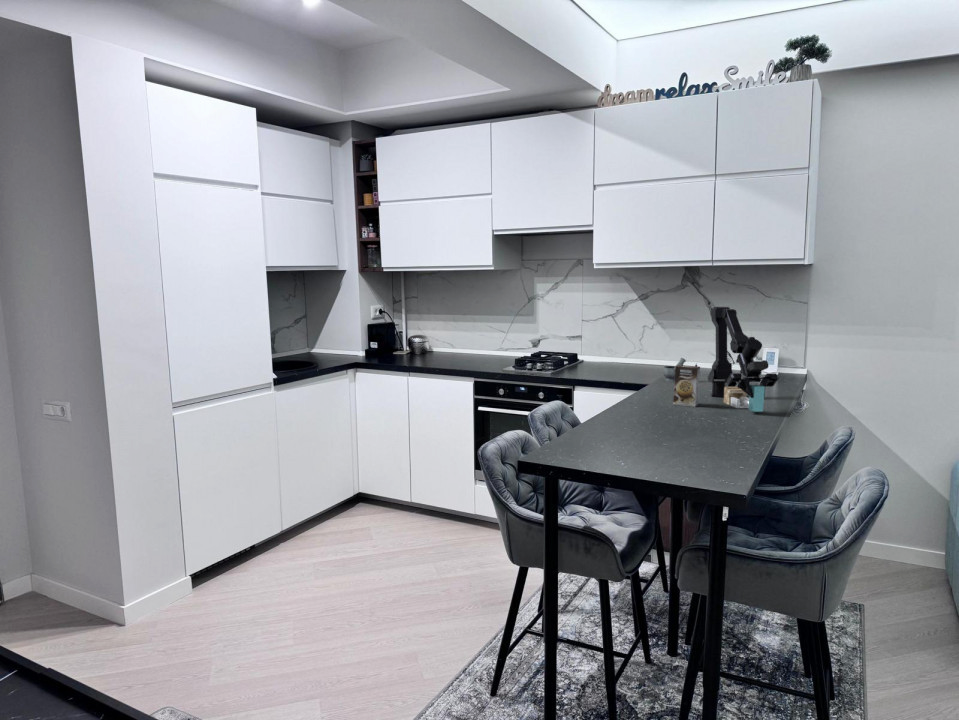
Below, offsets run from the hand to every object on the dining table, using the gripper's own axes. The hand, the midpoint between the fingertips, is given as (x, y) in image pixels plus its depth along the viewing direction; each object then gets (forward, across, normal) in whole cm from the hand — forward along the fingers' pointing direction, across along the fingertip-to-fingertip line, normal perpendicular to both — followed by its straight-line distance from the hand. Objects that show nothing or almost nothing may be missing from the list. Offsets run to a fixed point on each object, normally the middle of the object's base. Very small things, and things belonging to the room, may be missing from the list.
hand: (758, 397), depth 258 cm
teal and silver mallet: (-1, 0, +8) cm, 8 cm away
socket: (-10, 0, +19) cm, 22 cm away
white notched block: (-5, 0, +15) cm, 16 cm away
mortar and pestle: (-50, -7, +59) cm, 77 cm away
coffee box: (-8, -22, +18) cm, 29 cm away
